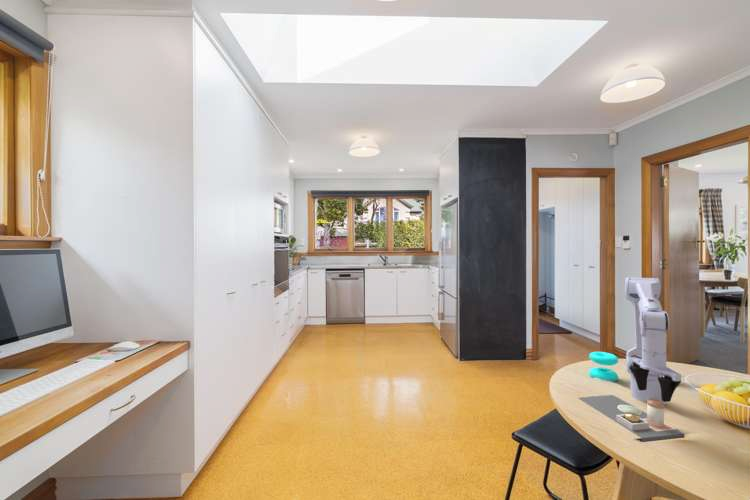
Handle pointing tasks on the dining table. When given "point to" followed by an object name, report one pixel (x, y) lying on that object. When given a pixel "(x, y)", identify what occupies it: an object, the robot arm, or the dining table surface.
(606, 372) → the donuts
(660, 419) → the white cylinder
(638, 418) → the button
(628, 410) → the board
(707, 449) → the dining table surface
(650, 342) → the robot arm
